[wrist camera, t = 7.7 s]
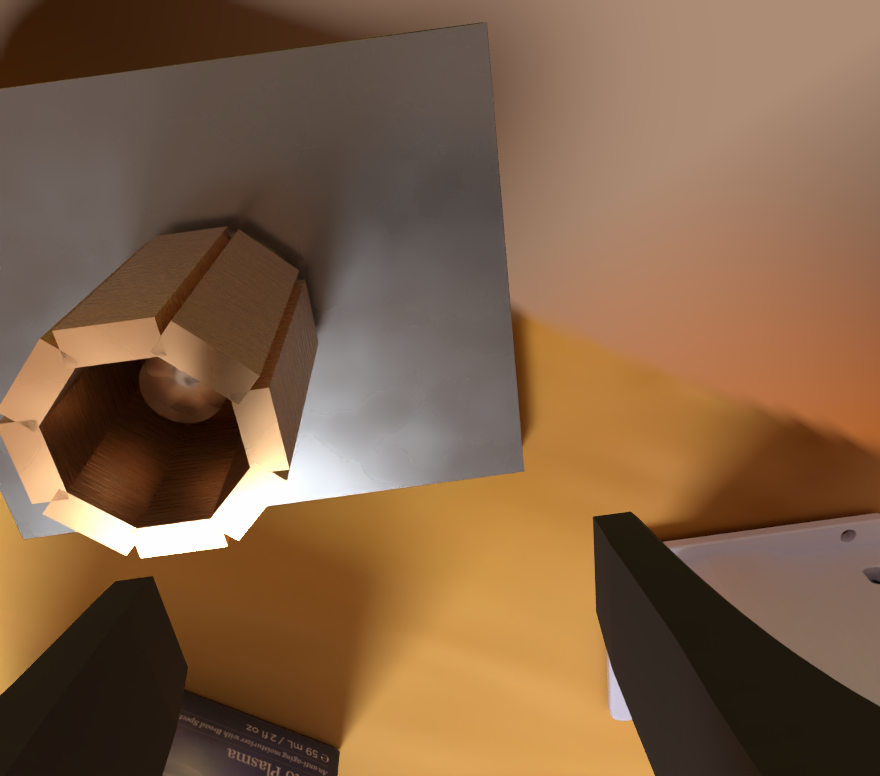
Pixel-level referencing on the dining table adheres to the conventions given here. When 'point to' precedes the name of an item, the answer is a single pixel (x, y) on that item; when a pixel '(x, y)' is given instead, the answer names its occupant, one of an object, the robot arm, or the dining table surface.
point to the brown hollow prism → (141, 428)
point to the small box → (241, 745)
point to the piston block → (290, 239)
